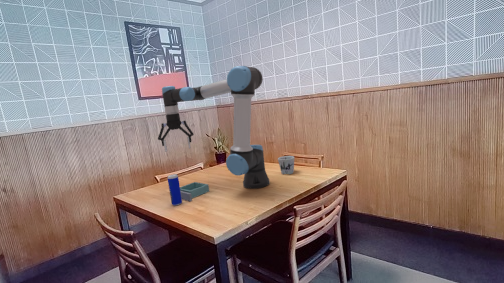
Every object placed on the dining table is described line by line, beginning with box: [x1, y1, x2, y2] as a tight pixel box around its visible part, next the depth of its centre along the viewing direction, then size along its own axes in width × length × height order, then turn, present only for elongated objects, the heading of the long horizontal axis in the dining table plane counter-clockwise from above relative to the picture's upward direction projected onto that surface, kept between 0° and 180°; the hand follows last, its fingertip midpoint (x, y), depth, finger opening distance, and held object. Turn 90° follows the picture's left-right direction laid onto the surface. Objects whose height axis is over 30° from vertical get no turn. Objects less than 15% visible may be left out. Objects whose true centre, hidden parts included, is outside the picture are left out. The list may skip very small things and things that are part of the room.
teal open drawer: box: [180, 181, 210, 199], centre depth 155 cm, size 13×13×4 cm
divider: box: [180, 191, 193, 202], centre depth 148 cm, size 16×1×4 cm, turn 47°
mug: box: [277, 155, 295, 175], centre depth 176 cm, size 10×15×10 cm
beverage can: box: [167, 173, 183, 207], centre depth 140 cm, size 5×5×15 cm
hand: (178, 149), depth 163 cm, fingers open, 13 cm apart
